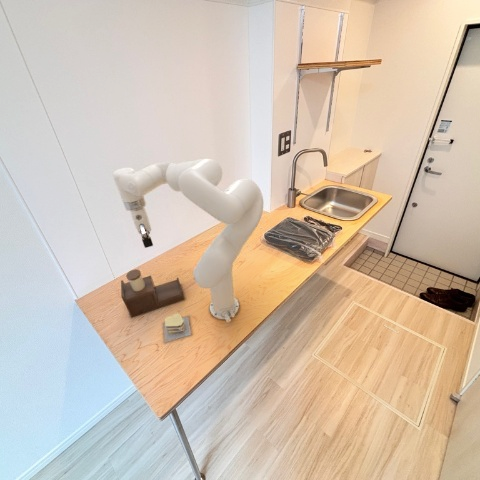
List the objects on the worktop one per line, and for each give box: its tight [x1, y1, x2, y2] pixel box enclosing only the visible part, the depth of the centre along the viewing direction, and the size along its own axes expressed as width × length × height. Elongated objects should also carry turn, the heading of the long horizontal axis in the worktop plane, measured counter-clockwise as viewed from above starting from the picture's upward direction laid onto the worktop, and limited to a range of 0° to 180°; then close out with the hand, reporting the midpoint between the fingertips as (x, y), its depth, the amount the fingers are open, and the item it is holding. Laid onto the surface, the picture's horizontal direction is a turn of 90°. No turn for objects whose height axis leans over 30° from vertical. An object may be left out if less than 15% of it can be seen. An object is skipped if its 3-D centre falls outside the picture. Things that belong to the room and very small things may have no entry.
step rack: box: [120, 275, 185, 318], centre depth 108 cm, size 10×23×13 cm, turn 113°
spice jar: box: [125, 269, 145, 291], centre depth 102 cm, size 6×6×8 cm
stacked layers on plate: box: [163, 313, 192, 343], centre depth 97 cm, size 10×9×6 cm
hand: (147, 240), depth 100 cm, fingers open, 9 cm apart
